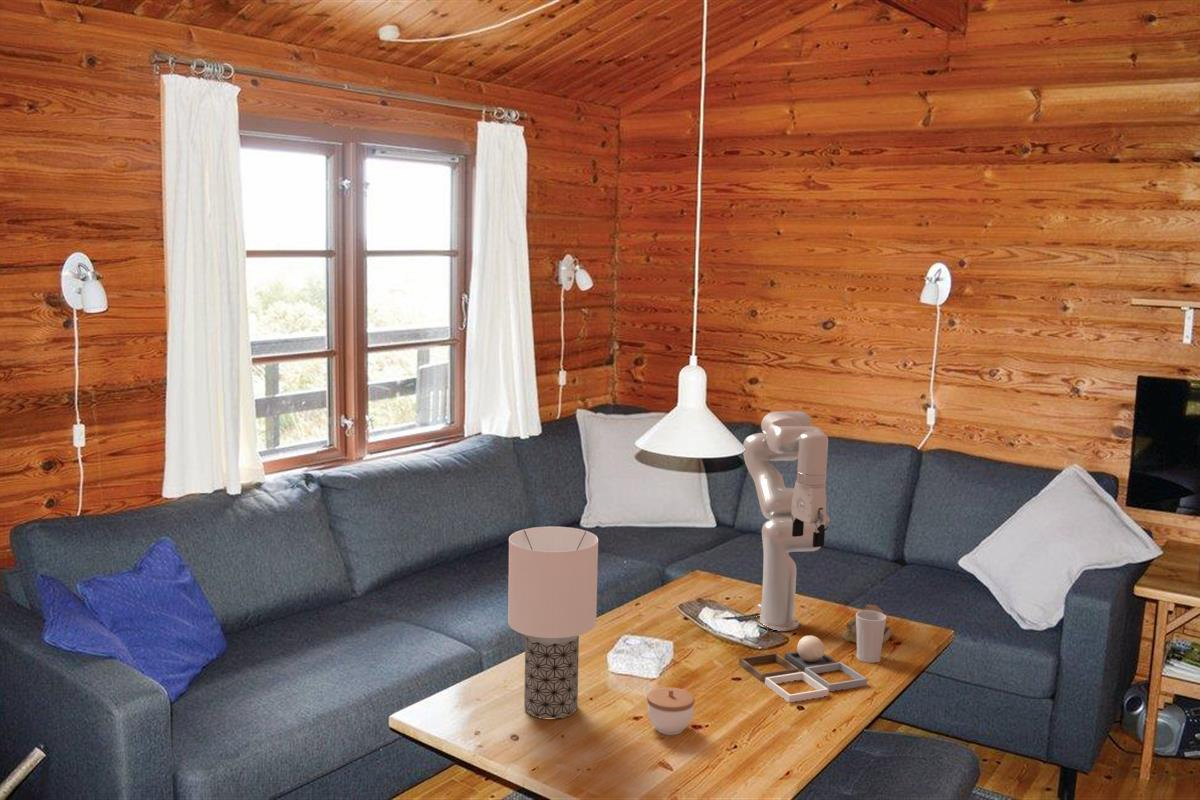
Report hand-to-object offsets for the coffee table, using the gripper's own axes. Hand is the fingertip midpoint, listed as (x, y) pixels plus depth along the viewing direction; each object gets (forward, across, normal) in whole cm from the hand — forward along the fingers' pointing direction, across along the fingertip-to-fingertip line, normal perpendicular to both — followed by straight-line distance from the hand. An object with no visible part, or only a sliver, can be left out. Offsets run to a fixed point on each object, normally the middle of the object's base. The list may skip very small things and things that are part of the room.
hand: (807, 541), depth 278 cm
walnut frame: (+32, +6, -14) cm, 35 cm away
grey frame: (+32, +17, -1) cm, 36 cm away
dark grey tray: (+32, +6, -1) cm, 32 cm away
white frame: (+32, +19, -14) cm, 40 cm away
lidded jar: (+32, +27, -53) cm, 68 cm away
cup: (+32, +8, +16) cm, 37 cm away
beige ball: (+31, +6, -1) cm, 32 cm away
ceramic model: (+32, -4, +25) cm, 41 cm away
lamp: (+32, +8, -75) cm, 82 cm away
